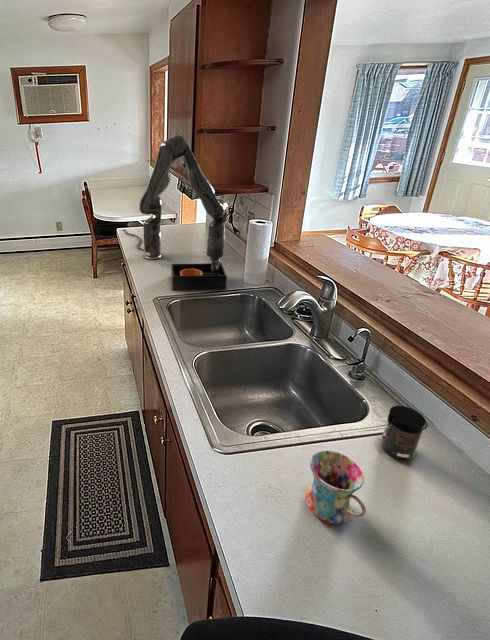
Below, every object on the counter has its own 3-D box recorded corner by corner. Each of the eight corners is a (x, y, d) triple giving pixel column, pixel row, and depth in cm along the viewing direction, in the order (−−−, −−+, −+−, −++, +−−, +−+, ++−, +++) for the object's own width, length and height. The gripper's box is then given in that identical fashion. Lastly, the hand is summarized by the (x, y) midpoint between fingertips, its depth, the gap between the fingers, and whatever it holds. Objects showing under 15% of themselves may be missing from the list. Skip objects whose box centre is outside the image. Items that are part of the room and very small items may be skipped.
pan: (180, 286, 176) (180, 277, 175) (179, 277, 186) (179, 268, 184) (221, 285, 175) (221, 276, 173) (217, 276, 184) (218, 268, 182)
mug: (293, 493, 83) (299, 457, 78) (329, 480, 85) (337, 445, 81) (335, 549, 72) (346, 511, 68) (375, 533, 75) (388, 495, 70)
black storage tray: (171, 276, 188) (171, 263, 186) (220, 276, 187) (221, 263, 184) (172, 290, 175) (172, 276, 172) (225, 289, 173) (226, 275, 170)
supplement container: (404, 439, 94) (415, 406, 90) (419, 463, 88) (432, 428, 84) (374, 438, 95) (384, 404, 91) (387, 461, 89) (398, 426, 85)
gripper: (227, 250, 166) (224, 287, 173) (221, 240, 179) (219, 274, 186) (209, 250, 167) (207, 287, 174) (205, 240, 179) (203, 274, 186)
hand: (213, 280), depth 180 cm, fingers open, 3 cm apart
